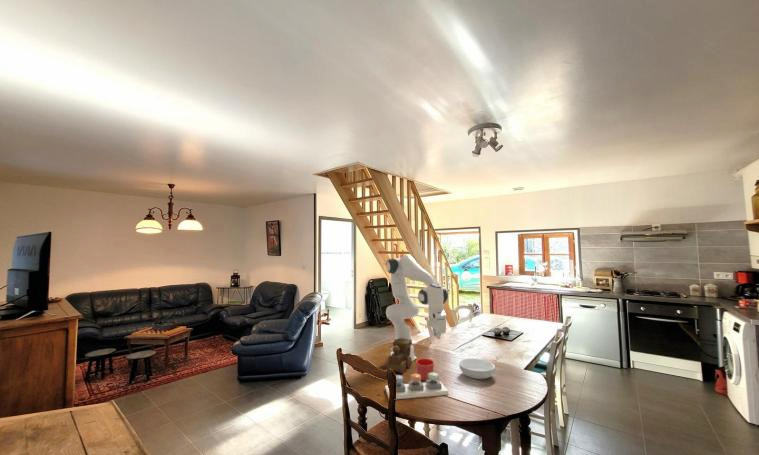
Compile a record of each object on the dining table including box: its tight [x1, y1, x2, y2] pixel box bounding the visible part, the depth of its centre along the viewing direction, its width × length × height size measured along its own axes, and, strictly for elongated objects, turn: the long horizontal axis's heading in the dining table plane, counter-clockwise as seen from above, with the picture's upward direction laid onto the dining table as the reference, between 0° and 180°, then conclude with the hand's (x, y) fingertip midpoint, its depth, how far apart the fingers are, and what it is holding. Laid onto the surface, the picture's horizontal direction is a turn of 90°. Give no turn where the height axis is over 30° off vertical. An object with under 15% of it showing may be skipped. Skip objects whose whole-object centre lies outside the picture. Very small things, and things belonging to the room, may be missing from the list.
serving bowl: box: [458, 358, 496, 380], centre depth 186 cm, size 21×21×7 cm
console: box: [384, 379, 449, 400], centre depth 166 cm, size 12×32×4 cm, turn 98°
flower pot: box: [415, 358, 435, 382], centre depth 183 cm, size 11×11×10 cm
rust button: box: [410, 373, 422, 385], centre depth 166 cm, size 6×6×4 cm
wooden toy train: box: [386, 339, 413, 375], centre depth 199 cm, size 20×11×17 cm, turn 152°
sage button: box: [428, 371, 439, 383], centre depth 168 cm, size 6×6×4 cm
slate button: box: [395, 374, 404, 386], centre depth 165 cm, size 6×6×4 cm
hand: (436, 337), depth 174 cm, fingers open, 4 cm apart
